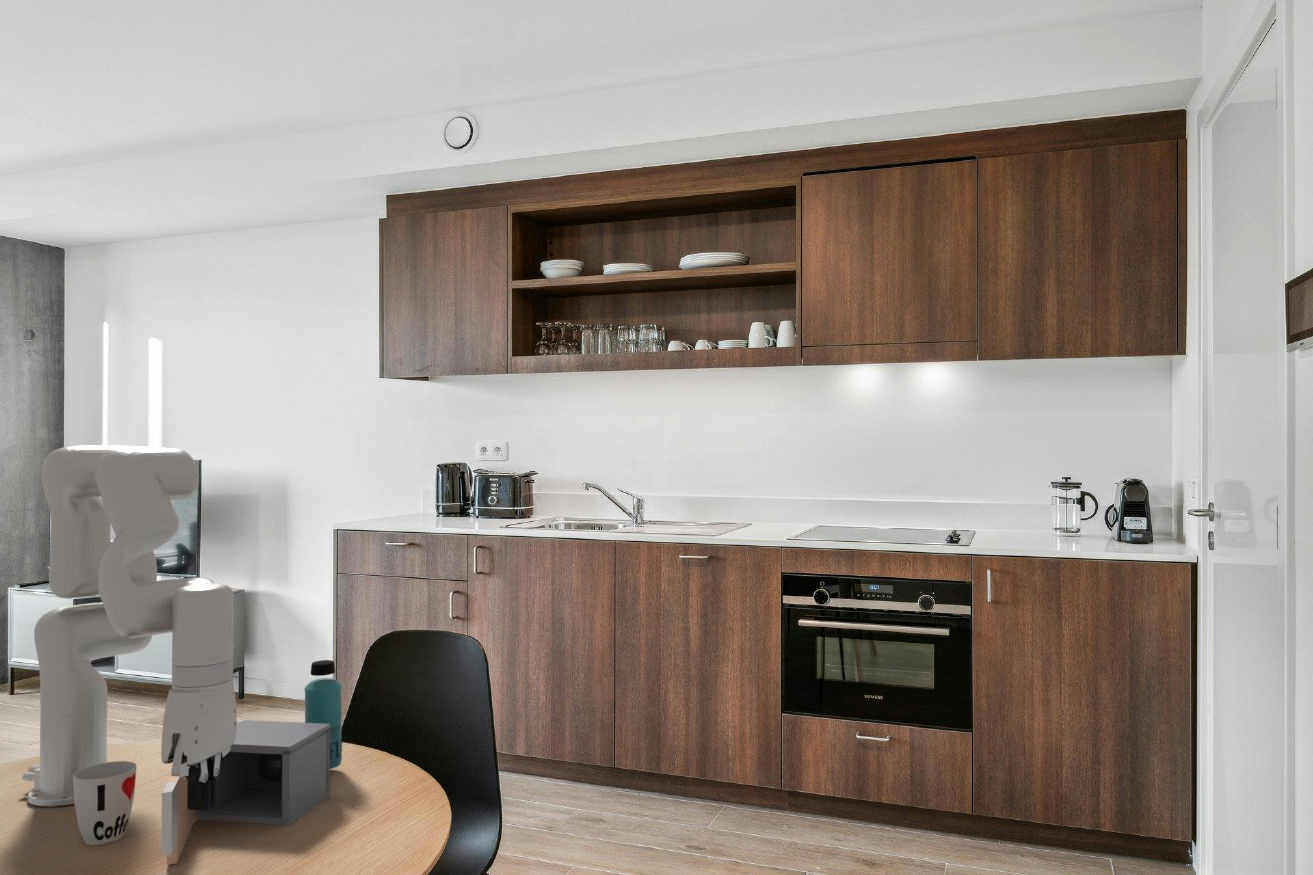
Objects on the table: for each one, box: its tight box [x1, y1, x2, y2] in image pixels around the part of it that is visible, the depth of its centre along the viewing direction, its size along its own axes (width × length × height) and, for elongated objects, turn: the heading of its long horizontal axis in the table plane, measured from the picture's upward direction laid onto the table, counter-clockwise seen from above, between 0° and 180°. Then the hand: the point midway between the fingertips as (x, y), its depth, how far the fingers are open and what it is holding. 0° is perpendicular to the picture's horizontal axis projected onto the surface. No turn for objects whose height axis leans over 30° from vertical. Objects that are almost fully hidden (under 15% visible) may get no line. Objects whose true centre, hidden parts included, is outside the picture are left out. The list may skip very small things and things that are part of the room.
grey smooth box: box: [195, 719, 331, 826], centre depth 143 cm, size 16×12×12 cm
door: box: [160, 775, 196, 866], centre depth 128 cm, size 21×1×11 cm, turn 19°
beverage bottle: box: [304, 659, 343, 770], centre depth 159 cm, size 6×7×20 cm
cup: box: [73, 760, 137, 846], centre depth 132 cm, size 8×8×10 cm
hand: (201, 807), depth 122 cm, fingers closed
